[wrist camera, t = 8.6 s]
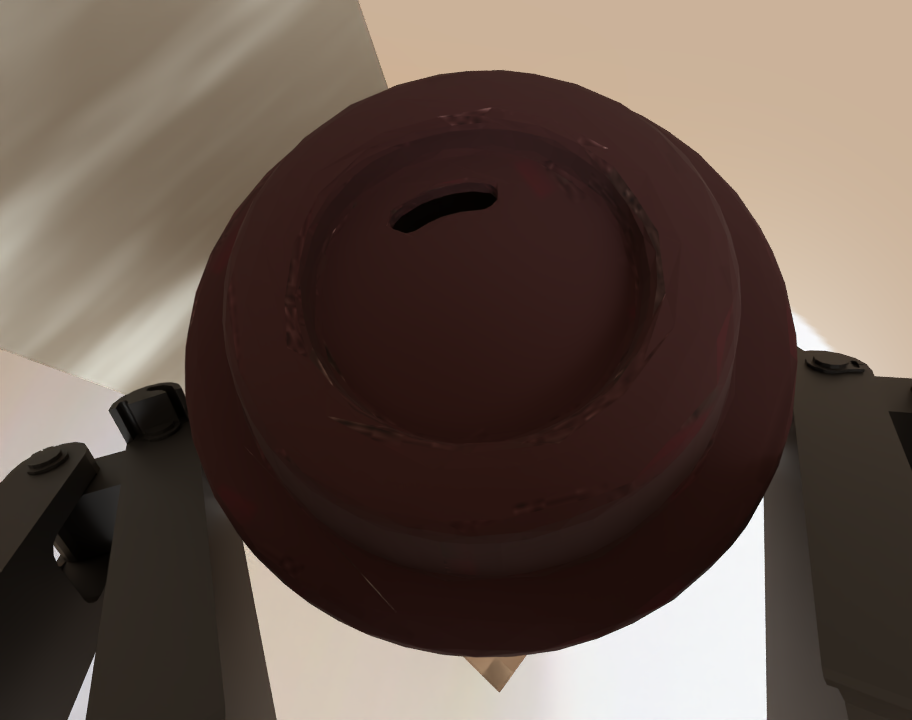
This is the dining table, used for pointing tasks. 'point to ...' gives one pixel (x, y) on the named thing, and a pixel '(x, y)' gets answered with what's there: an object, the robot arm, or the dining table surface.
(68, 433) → the dining table surface
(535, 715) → the dining table surface
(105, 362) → the cold frame
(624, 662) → the dining table surface
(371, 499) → the coffee cup
